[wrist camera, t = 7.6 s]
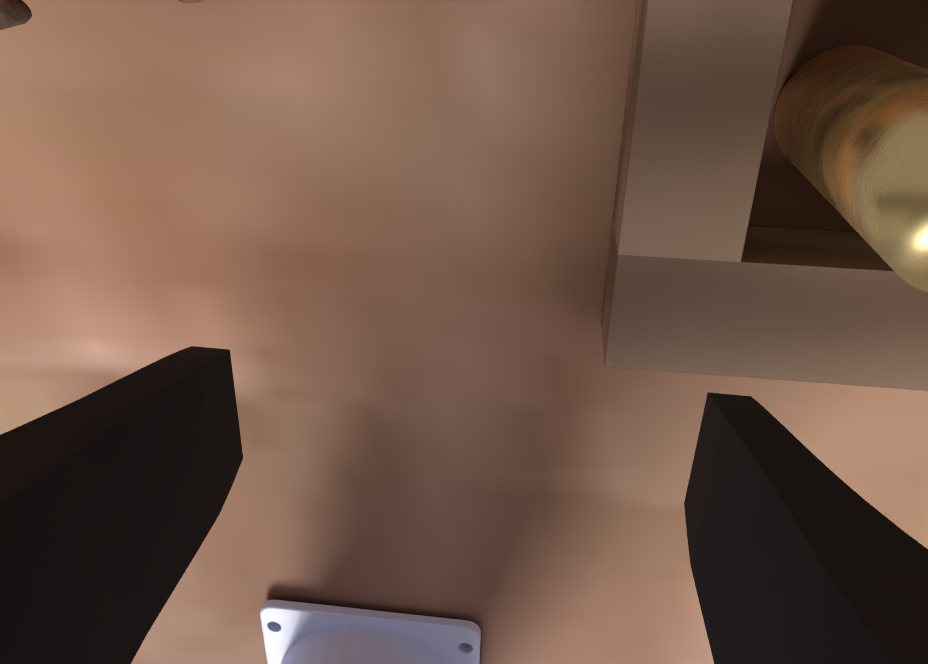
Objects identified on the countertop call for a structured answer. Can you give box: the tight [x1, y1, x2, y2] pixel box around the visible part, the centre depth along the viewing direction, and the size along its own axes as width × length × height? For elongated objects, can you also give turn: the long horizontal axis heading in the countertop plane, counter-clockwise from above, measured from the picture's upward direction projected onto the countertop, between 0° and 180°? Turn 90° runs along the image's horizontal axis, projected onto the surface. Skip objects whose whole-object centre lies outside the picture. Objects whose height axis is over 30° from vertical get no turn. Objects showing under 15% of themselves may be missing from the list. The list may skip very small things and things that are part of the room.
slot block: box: [601, 0, 928, 391], centre depth 17 cm, size 12×10×2 cm
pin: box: [774, 45, 928, 293], centre depth 15 cm, size 3×3×7 cm
